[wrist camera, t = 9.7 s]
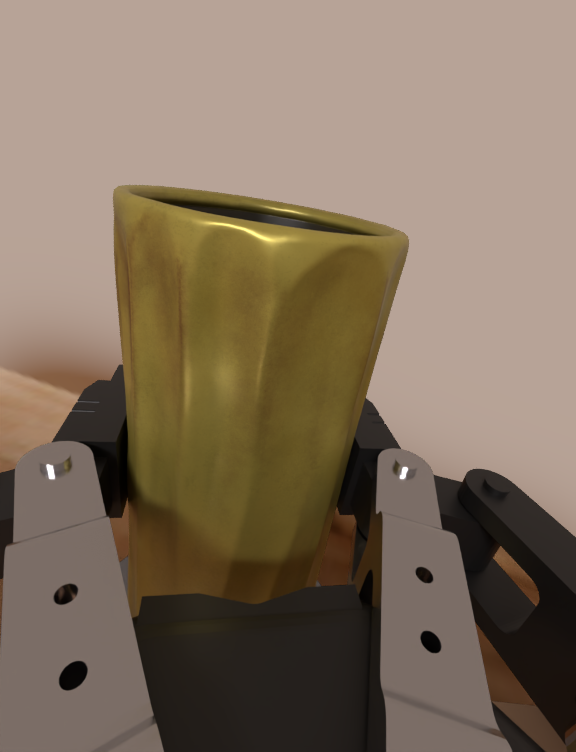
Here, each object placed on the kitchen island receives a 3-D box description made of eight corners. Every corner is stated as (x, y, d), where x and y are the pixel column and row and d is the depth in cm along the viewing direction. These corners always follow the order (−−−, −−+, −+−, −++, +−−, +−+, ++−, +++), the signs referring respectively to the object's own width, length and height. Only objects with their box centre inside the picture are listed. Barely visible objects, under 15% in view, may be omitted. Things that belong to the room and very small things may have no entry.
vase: (89, 641, 13) (7, 167, 6) (221, 533, 17) (256, 194, 11) (211, 813, 10) (309, 256, 3) (332, 628, 14) (476, 240, 8)
